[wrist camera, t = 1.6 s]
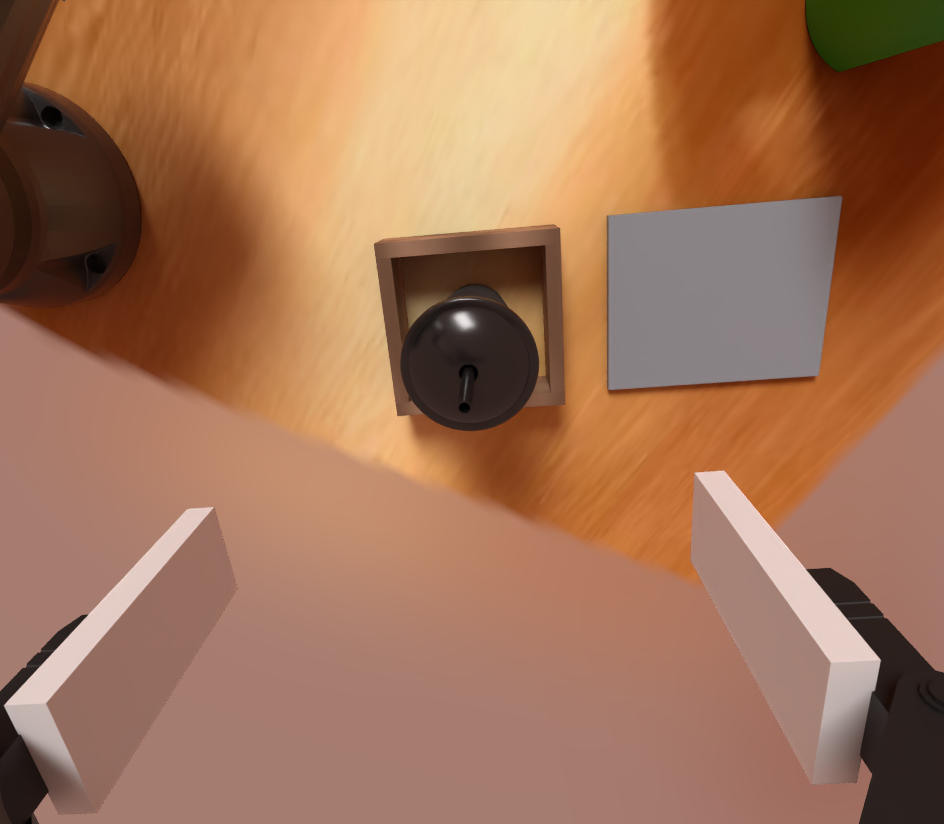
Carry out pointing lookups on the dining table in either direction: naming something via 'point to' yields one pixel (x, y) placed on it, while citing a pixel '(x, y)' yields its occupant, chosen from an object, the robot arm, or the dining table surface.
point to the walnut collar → (392, 249)
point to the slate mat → (719, 292)
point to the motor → (872, 28)
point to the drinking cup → (469, 361)
